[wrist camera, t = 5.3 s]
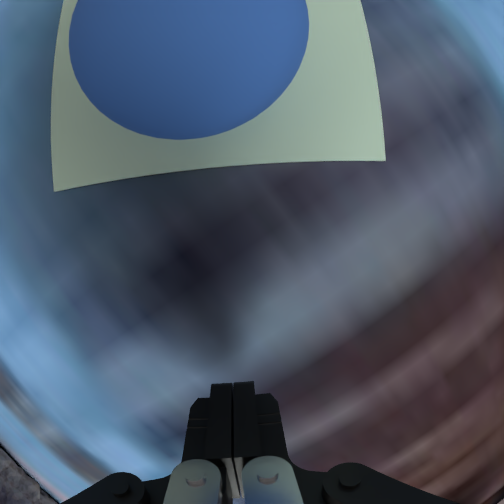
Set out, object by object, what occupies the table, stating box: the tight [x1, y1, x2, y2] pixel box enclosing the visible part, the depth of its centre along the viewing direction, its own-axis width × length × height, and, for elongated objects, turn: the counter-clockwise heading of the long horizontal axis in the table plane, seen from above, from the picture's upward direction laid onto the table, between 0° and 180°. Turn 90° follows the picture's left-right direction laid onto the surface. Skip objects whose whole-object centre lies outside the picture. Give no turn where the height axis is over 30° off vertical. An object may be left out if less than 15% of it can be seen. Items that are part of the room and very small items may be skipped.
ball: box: [69, 0, 309, 140], centre depth 6 cm, size 6×6×6 cm
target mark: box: [51, 0, 386, 192], centre depth 8 cm, size 12×12×1 cm
